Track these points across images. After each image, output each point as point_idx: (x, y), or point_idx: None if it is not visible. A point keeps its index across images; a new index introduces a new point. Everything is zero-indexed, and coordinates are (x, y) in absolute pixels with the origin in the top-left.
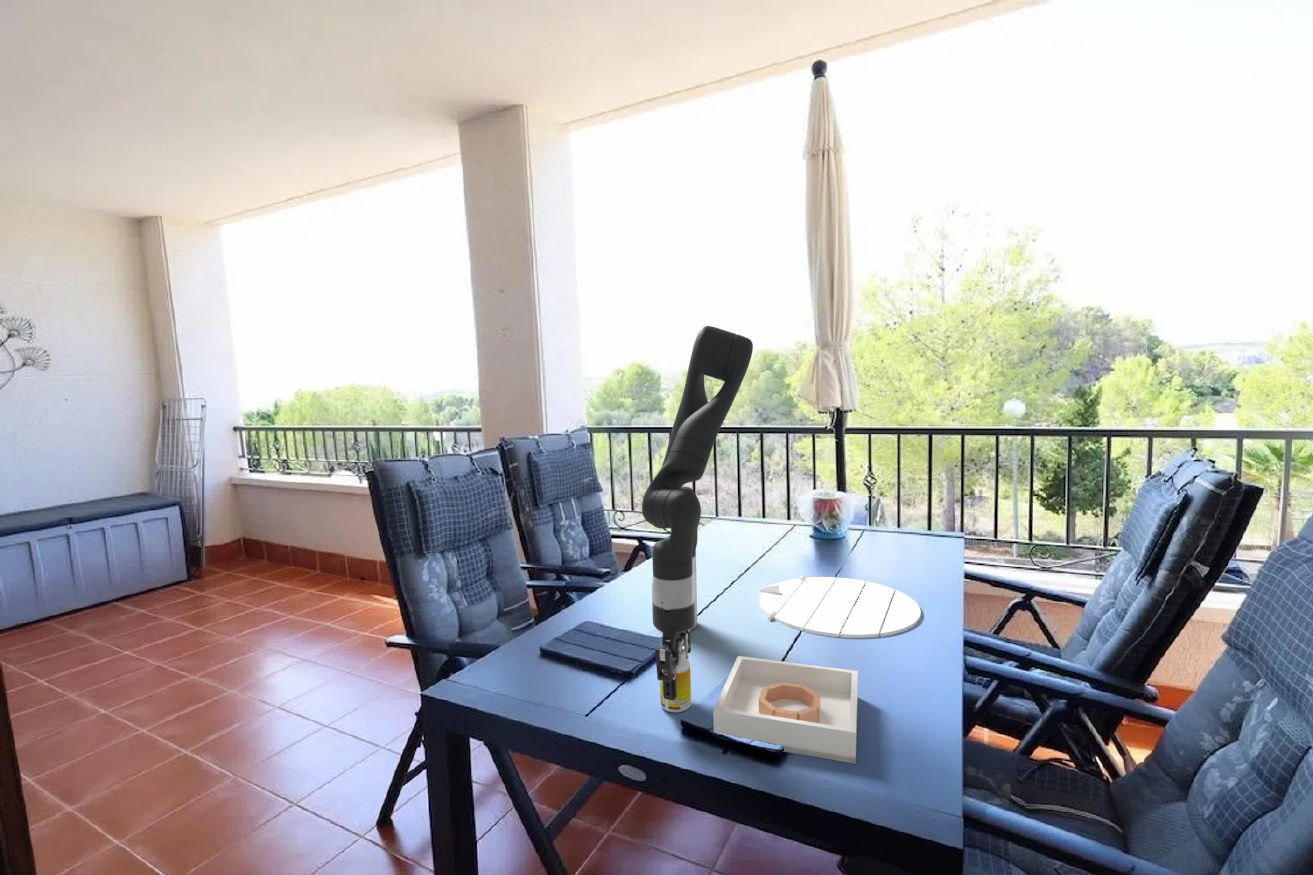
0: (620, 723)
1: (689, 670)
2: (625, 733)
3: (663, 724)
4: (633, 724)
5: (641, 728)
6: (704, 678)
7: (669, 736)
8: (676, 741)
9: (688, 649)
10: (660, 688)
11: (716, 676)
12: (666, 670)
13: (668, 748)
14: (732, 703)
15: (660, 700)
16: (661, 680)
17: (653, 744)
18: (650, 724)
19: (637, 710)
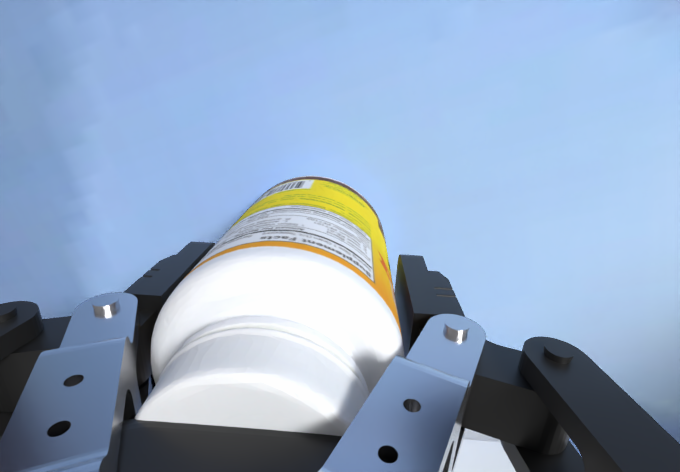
0: (84, 23)
1: None
2: (28, 80)
3: (162, 224)
4: (106, 94)
5: (96, 141)
6: (576, 309)
7: (99, 264)
8: (84, 294)
9: (509, 454)
10: (250, 210)
11: (596, 352)
12: (152, 336)
13: (33, 277)
14: None
15: (280, 184)
16: (215, 244)
17: (25, 221)
18: (140, 171)
19: (221, 72)
